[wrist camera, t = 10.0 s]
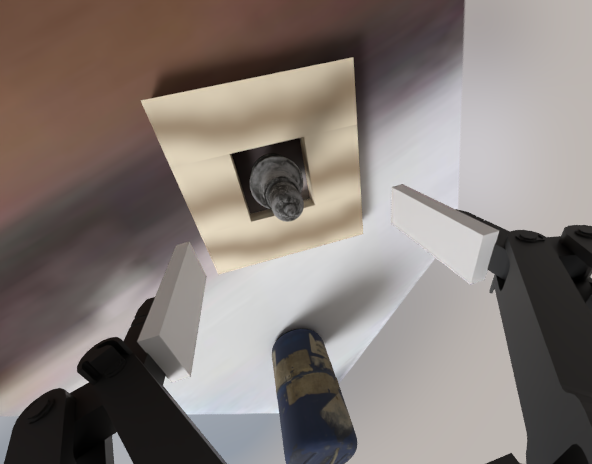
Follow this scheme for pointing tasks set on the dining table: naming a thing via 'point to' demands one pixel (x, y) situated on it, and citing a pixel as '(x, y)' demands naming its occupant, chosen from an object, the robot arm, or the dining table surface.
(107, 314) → the dining table surface
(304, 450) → the canister
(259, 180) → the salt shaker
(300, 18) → the dining table surface
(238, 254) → the socket
